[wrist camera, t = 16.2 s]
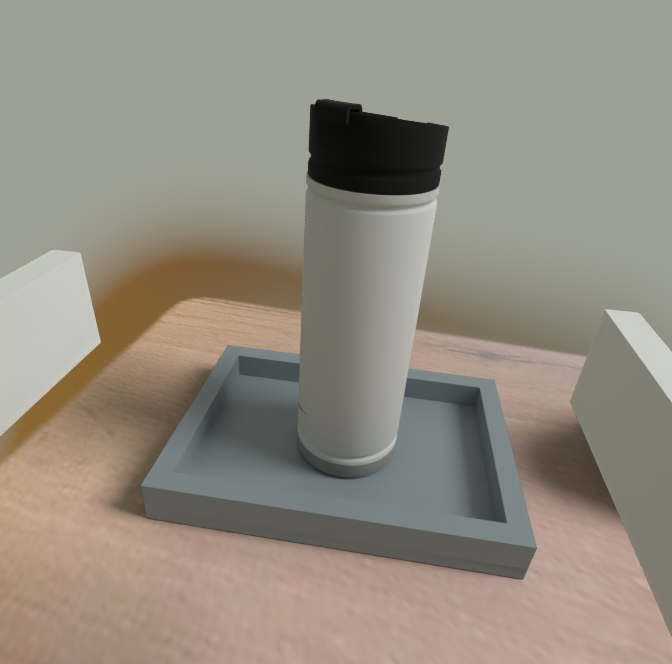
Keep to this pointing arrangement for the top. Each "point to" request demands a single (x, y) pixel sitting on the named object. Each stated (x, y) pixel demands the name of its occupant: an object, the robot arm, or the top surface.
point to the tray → (348, 493)
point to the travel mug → (362, 279)
